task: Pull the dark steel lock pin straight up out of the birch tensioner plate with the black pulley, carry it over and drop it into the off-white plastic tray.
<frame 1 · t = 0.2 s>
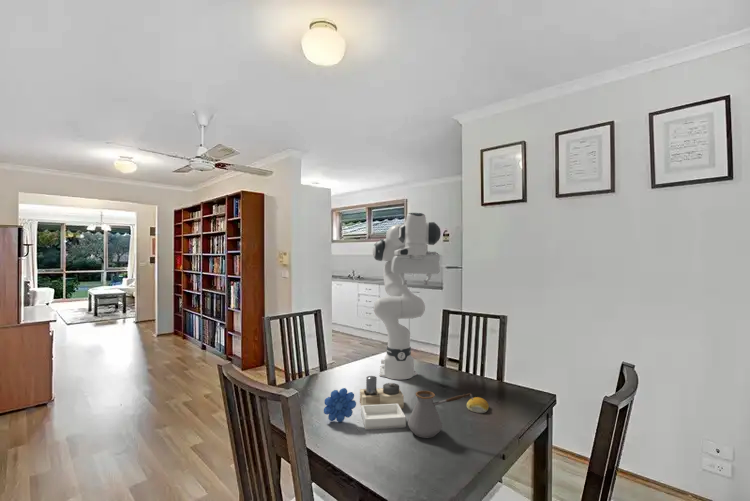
hand: (415, 284, 154), 47 cm above the table, tool pointing down, fingers open, 8 cm apart
lock pin: (371, 405, 146), resting in tensioner plate
bread roll: (477, 409, 145), on the table
blue lobed round piece: (340, 421, 133), on the table
tray: (382, 420, 133), on the table
tensioner plate: (381, 405, 147), on the table
coffee pot: (439, 435, 123), on the table
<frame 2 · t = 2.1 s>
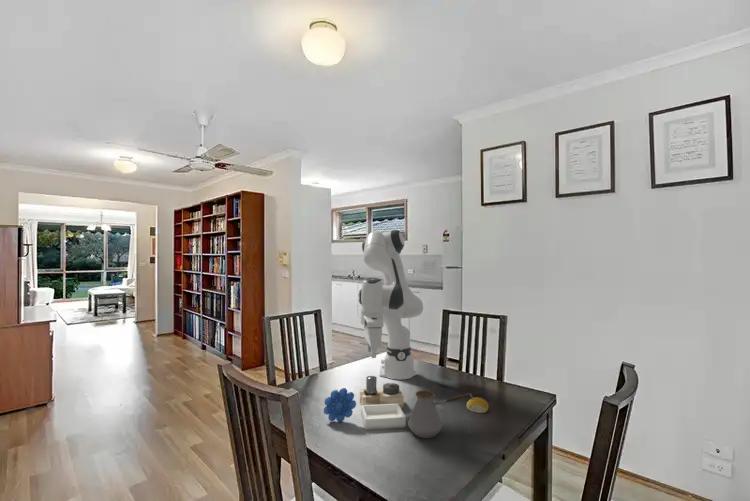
hand: (371, 354, 147), 20 cm above the table, tool pointing down, fingers open, 8 cm apart
nothing on the table moved.
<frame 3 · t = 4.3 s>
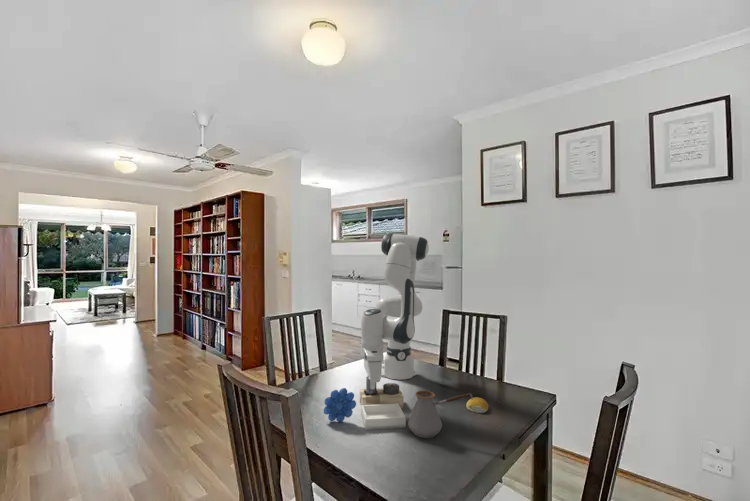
hand: (371, 386, 147), 8 cm above the table, tool pointing down, fingers closed on lock pin, 4 cm apart
lock pin: (371, 405, 146), resting in tensioner plate, touching gripper
everything else where it was.
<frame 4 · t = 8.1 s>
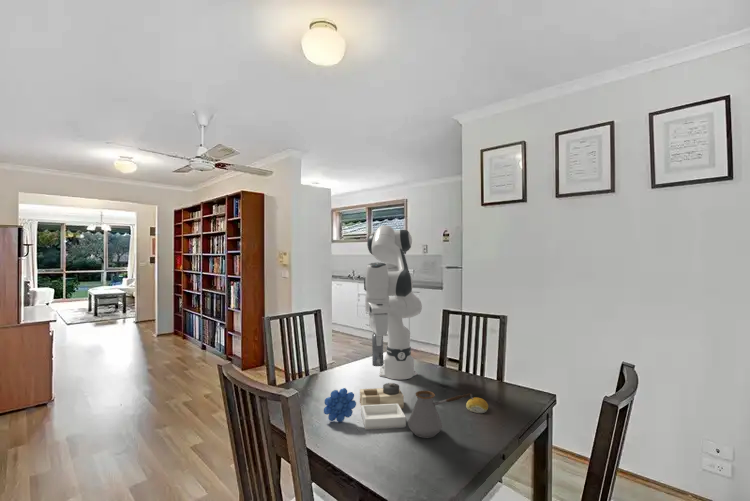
hand: (377, 344, 137), 26 cm above the table, tool pointing down, fingers closed on lock pin, 4 cm apart
lock pin: (377, 364, 137), point 19 cm above the table, touching gripper
everything else where it was.
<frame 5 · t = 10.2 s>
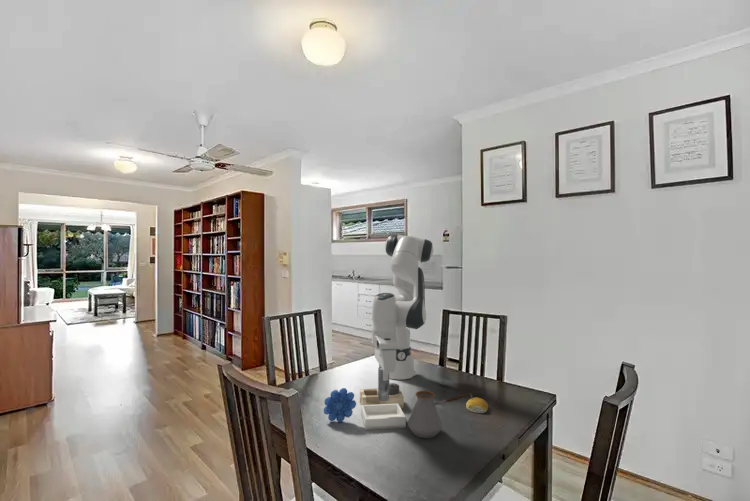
hand: (383, 377, 133), 15 cm above the table, tool pointing down, fingers closed on lock pin, 4 cm apart
lock pin: (383, 399, 133), point 8 cm above the table, touching gripper
everything else where it was.
when the fingers open (11 cm above the table, at t = 11.9 s): lock pin drops 2 cm, resting on tray.
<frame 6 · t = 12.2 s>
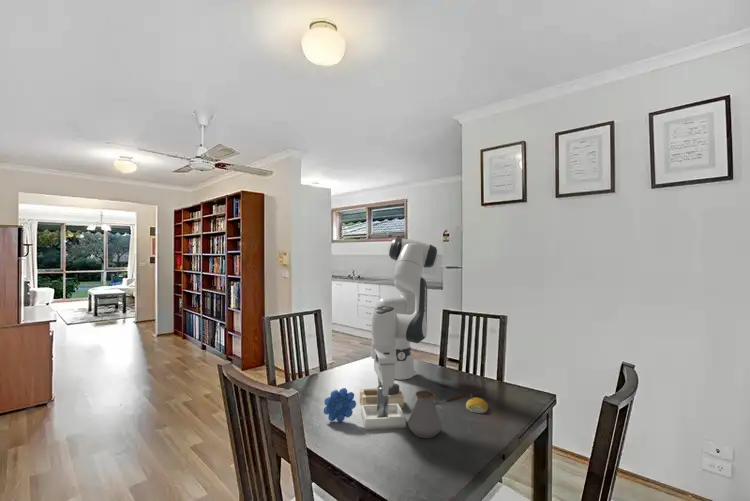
hand: (382, 391, 133), 11 cm above the table, tool pointing down, fingers open, 7 cm apart
lock pin: (382, 418, 133), point 1 cm above the table, touching tray
everything else where it was.
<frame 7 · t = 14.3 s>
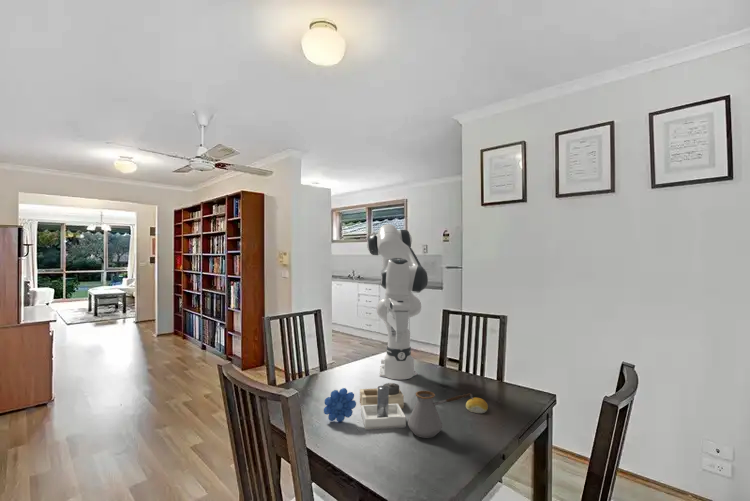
hand: (395, 339, 138), 28 cm above the table, tool pointing down, fingers open, 8 cm apart
nothing on the table moved.
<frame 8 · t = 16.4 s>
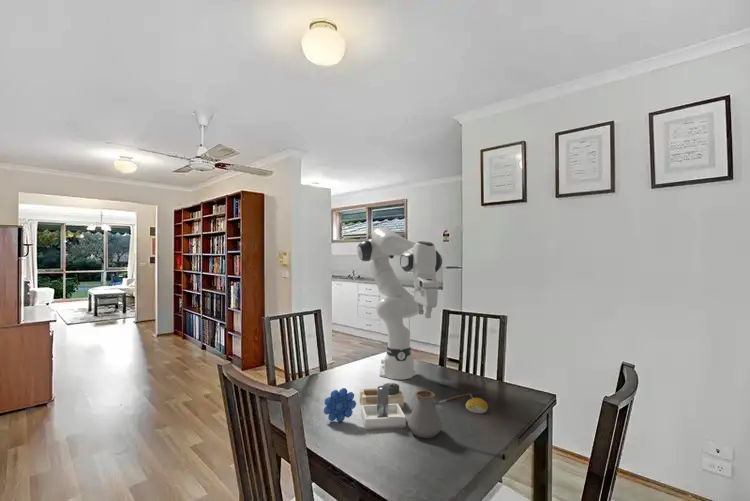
hand: (424, 316, 149), 35 cm above the table, tool pointing down, fingers open, 8 cm apart
nothing on the table moved.
at the end: lock pin inside the target area (0.1 cm from its centre), point 0.8 cm above the table; the gripper is holding nothing; lock pin moved 14.1 cm from its start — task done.
